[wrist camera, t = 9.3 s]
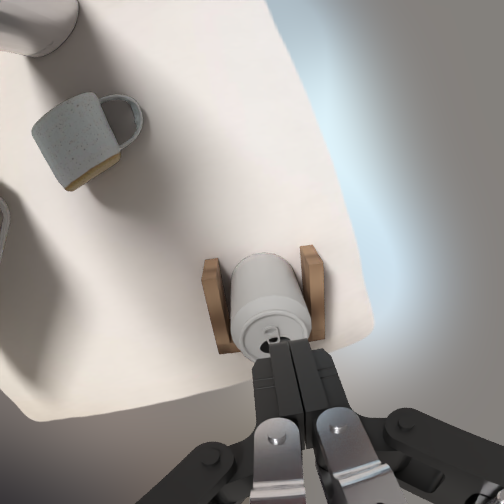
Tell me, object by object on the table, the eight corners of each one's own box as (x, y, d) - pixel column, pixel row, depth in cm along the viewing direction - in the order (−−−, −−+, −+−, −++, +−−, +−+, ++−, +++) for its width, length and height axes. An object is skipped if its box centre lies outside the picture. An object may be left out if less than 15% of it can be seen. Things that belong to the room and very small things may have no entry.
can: (242, 312, 40) (245, 379, 29) (222, 260, 37) (218, 320, 26) (299, 295, 40) (322, 359, 29) (285, 241, 37) (306, 295, 26)
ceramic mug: (84, 187, 33) (52, 204, 26) (53, 129, 30) (17, 134, 23) (159, 139, 32) (141, 143, 25) (126, 77, 29) (100, 66, 22)
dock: (205, 259, 37) (201, 280, 33) (312, 244, 37) (323, 262, 33) (220, 329, 41) (219, 354, 36) (315, 315, 41) (324, 339, 36)
